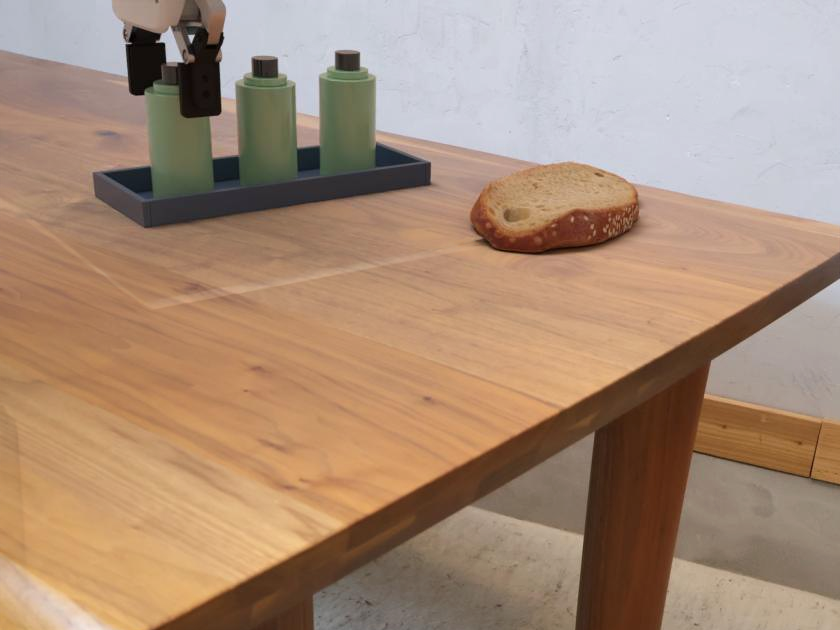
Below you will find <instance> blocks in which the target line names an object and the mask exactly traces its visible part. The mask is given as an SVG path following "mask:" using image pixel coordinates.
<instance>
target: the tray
mask: <svg viewBox="0 0 840 630" xmlns="http://www.w3.org/2000/svg"><path fill="white" fill-rule="evenodd" d="M297 157H298V179H292V180H285V181H277V182H270V183H263V184H255V185H248V186H241V187H240V181H239V159H238V154H233V155H225V156H217V157H213V173H214V190H212V191H204V192H197V193H190V194H182V195H175V196H168V197H160V198H153V191H152V179H151V167H150V164H149V165H142V166H135V167H126V168H116V169H107V170H100V171H92V180H93V190H94V196H95V198H97V199H98V200H99V201H101V202H103V203H104V204H106V205H107V206H109V207H110V208H112V209H113V210H115V211H117V212H118V213H120V214H121V215H123V216H124V217H126V218H128V219H130V221H132V222H134V223H136V224H137V225H139V226H140V227H142V228H144V229H148V228H155V227H162V226H169V225H176V224H181V223H188V222H194V221H202V220H208V219H214V218H221V217H228V216H235V215H241V214H247V213H254V212H261V211H268V210H275V209H280V208H281V209H282V208H288V207H294V206H301V205H309V204H314V203H320V202H326V201H327V202H329V201H332V200H333V201H334V200H335V201H336V200H341V199H346V198H348V199H349V198H353V197H360V196H367V195H368V196H369V195H372V194H373V195H375V194H381V193H388V192H394V191H400V190H405V189H406V190H408V189H413V188H420V187H427V186H431V183H432V180H431V179H432V162H431V161H429V160H426V159H423V158H421V157H418V156H415V155H413V154H410V153H408V152H404V151H402V150H399V149H397V148H394V147H391V146H389V145H386V144H384V143H382V142H379V141H376V167H375V168H372V169H365V170H358V171H350V172H343V173H336V174H328V175H321V176H320V144H316V145H309V146H308V145H307V146H300V147H297Z"/></svg>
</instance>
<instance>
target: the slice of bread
mask: <svg viewBox="0 0 840 630" xmlns="http://www.w3.org/2000/svg"><path fill="white" fill-rule="evenodd" d="M639 215H640V208H639V192H638V191H637V188H636V187H635V186H634V185H633V184H632V183H630V182H629V181H627V179H625V178H623V177H621V176H619V175H617V174H616V173H613V172H611V171H607V170H605V169H602V168H598V167H596V166H593V165H589V164H584V163H580V162H575V161H563V162H557V163H554V162H552V163H549V164H546V165H538V166H536V167H531V168H528V169H524V170H522V171H518V172H516V173H515V174H514V173H512V174H510V175H509V176H504V177H503V178H500V179H498V180H496V181H493V180H492V181H490V182H489V183H488V184H487V185H486V186H485V187H484V188H483V189H482V191H481V192H480V194H479V195H478V197H477V199H476V201H474V204H473V206H472V208H471V210H470V213H469V219H470V223H471V224H472V226H473V228H474V229H475V230H476V232H477V233H478V234H479V235H480V236H481V237H482V238H483V239H484V240H485V241H487V242H489V244H490V245H491V246H492V247H493V248H495V249H498V250H500V251H501V250H502V251H512V252H522V253H534V254H535V253H543V252H545V251H547V250H553V249H561V248H562V249H563V248H574V247H575V248H576V247H584V246H590V245H597V244H601V243H604V242H606V241H607V240H609V239H614V238H615V237H617V236H619V235H622V234H624V233H625V232H626V231H628V230H631V228H632V226H633V223H634V221H636V220H638V218H639Z"/></svg>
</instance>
